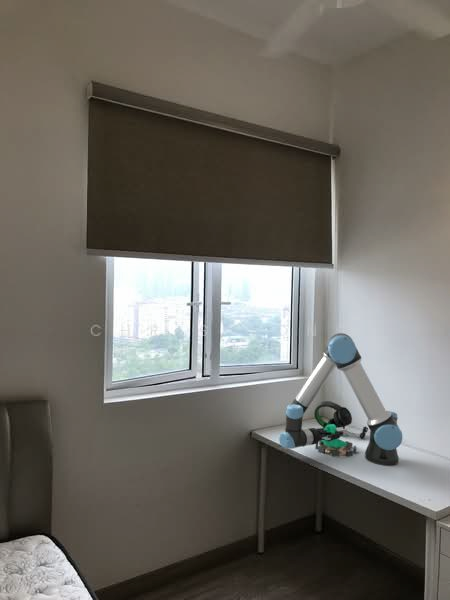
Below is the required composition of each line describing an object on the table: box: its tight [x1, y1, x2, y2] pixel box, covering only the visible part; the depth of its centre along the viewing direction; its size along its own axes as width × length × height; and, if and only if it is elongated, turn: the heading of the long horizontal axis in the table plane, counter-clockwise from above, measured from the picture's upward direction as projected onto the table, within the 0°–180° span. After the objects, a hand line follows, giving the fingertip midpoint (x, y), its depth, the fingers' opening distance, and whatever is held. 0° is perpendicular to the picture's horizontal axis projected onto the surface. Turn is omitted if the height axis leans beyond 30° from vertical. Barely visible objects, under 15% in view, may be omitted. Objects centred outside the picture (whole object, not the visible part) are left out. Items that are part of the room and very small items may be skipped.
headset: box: [313, 400, 369, 440], centre depth 260 cm, size 18×14×29 cm
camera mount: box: [321, 424, 347, 447], centre depth 235 cm, size 12×8×10 cm, turn 30°
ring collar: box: [315, 440, 357, 458], centre depth 236 cm, size 19×19×2 cm
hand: (344, 430), depth 239 cm, fingers closed on camera mount, 2 cm apart
